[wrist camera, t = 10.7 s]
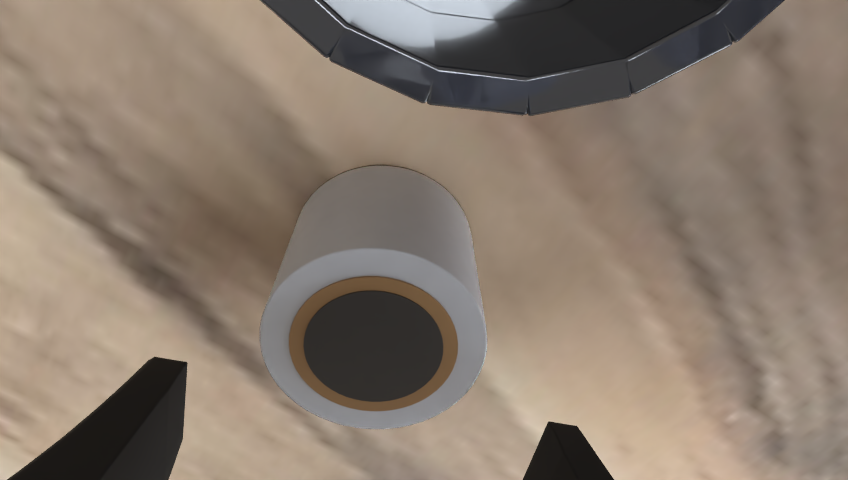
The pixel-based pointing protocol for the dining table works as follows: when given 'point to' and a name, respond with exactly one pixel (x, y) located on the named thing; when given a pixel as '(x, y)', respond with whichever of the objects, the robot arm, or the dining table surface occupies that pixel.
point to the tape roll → (376, 302)
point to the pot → (519, 45)
